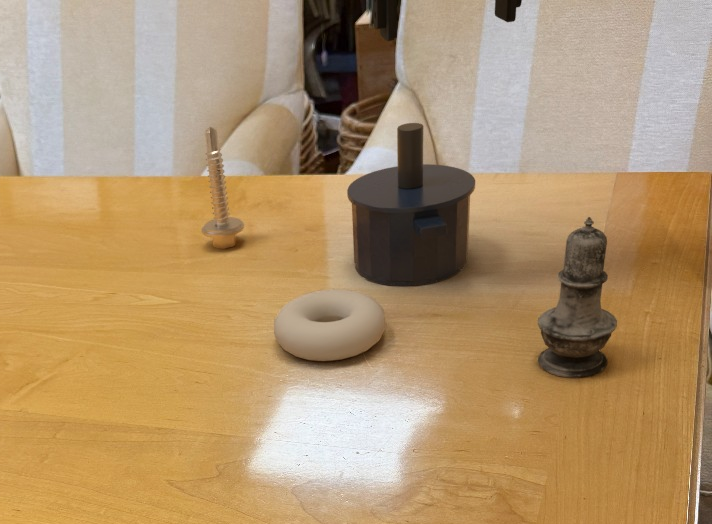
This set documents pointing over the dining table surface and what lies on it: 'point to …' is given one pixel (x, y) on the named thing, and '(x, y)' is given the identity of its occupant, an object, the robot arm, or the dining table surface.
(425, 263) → the pot
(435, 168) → the lid
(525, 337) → the dining table surface
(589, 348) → the salt shaker
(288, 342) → the donut
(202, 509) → the dining table surface
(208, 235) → the screw
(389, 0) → the robot arm
